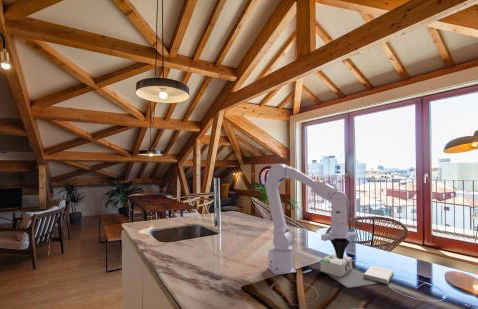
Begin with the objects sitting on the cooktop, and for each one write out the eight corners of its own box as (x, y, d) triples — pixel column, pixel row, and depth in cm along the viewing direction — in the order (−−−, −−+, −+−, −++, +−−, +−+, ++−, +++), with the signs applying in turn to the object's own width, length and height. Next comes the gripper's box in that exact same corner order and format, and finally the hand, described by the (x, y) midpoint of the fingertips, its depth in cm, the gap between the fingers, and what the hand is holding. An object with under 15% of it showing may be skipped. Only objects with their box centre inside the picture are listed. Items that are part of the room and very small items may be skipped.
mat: (347, 288, 92) (347, 287, 92) (324, 272, 106) (324, 271, 106) (377, 283, 96) (377, 283, 96) (351, 269, 109) (351, 268, 109)
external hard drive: (363, 278, 100) (371, 268, 109) (387, 284, 94) (393, 274, 104) (363, 273, 100) (371, 264, 109) (387, 279, 94) (393, 269, 104)
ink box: (319, 259, 106) (332, 252, 114) (320, 272, 106) (332, 264, 114) (340, 264, 100) (352, 257, 108) (341, 277, 100) (352, 269, 108)
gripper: (328, 225, 95) (329, 263, 94) (362, 223, 98) (363, 259, 98) (317, 221, 101) (318, 257, 101) (349, 219, 105) (350, 253, 105)
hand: (339, 258), depth 100 cm, fingers closed
